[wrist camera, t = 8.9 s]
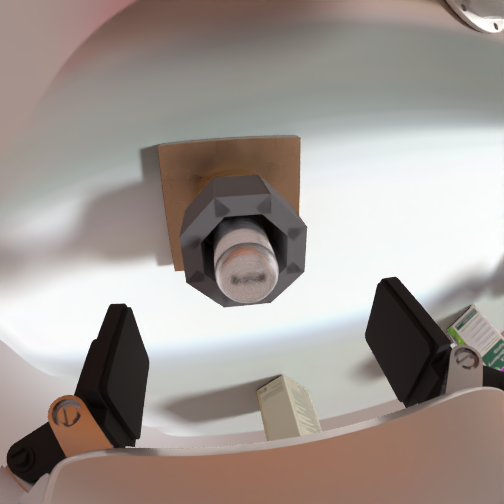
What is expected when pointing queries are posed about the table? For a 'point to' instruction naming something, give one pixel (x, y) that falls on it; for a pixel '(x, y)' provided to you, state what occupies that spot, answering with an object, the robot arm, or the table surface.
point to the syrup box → (479, 337)
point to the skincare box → (286, 410)
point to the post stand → (233, 227)
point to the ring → (237, 204)
